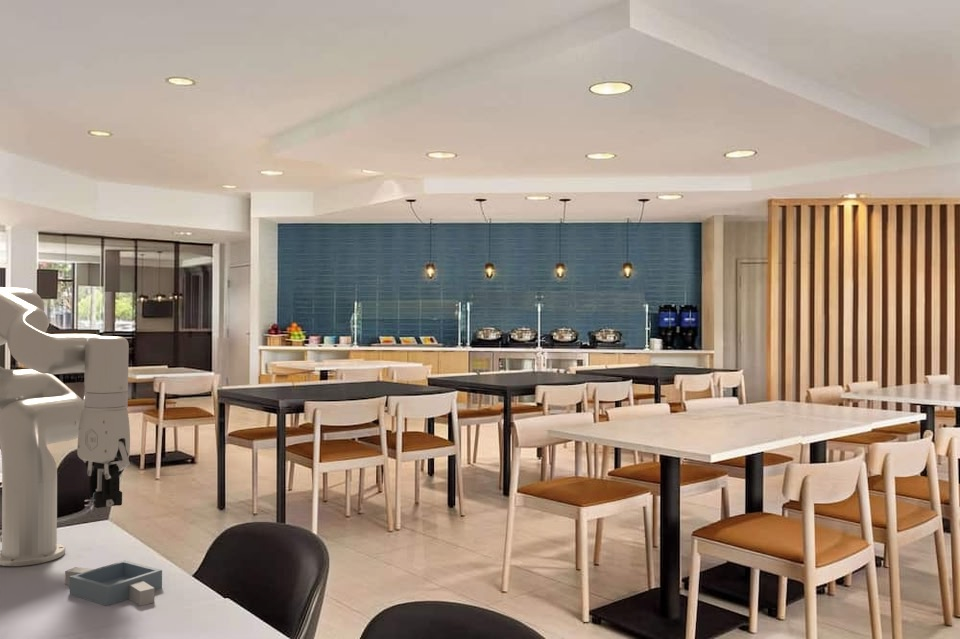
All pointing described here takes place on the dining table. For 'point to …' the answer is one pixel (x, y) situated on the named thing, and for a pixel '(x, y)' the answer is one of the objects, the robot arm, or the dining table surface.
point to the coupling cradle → (115, 583)
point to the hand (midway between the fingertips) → (104, 496)
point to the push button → (97, 496)
